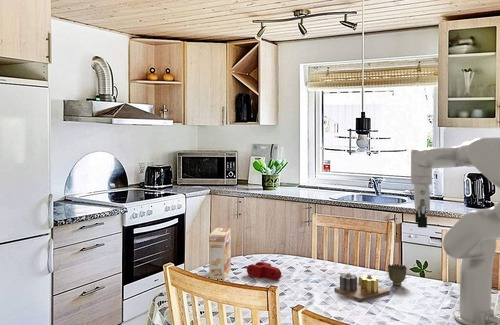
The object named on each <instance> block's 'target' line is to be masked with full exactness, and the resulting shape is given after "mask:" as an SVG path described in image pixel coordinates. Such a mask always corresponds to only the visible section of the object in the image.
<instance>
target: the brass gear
mask: <svg viewBox="0 0 500 325" xmlns="http://www.w3.org/2000/svg"><path fill="white" fill-rule="evenodd" d="M361 276H362V277H361V290H362V292H367V293H371V292H372V293H377V292H378V286H379V278H378V277H377V276H375V275H372V278H371V279H367V275H361Z"/></svg>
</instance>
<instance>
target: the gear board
mask: <svg viewBox="0 0 500 325" xmlns="http://www.w3.org/2000/svg"><path fill="white" fill-rule="evenodd" d="M362 276H363V275H360V276H359V277H358V276H357V275H356V274H353V273H352V274H351V273H350V272H346V273H342V274H340V275H339V286H337V287H334V288H333V290H334V292H335V293H338V294H341V295H343V296H345V297H348V298H350V299H353V300H355V301H357V302H360V303H361V302H365V301H367V300H371V299H375V298H378V297H382V296H383V297H384V296H386V295H390V293H391V290H389V289H387V288H384V287H381V286H379V285H378V292H377V293H372V292H371V293H367V292H362V290H361V277H362ZM366 276H367V279H371V278H372V276H373V275H372V274H367V275H366Z"/></svg>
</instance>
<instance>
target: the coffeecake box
mask: <svg viewBox="0 0 500 325" xmlns="http://www.w3.org/2000/svg"><path fill="white" fill-rule="evenodd" d="M231 230H232V229H231V228H229V227H216V228H214V230H213V231H212V232H210V233H209V235H208V258H209V260H208V264H209V265H208V268H209V269H208V276H209V277H210V278H214V279H218V280H217V281H225V280H226V279H227V277H228V275H229V274H230V272H231V271H232V270H231V269H232V261H231V260H232V257H231V256H232V249H231V248H232V238H231V235H232V234H231V233H232V231H231ZM221 279H222V280H221Z"/></svg>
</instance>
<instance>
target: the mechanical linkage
mask: <svg viewBox="0 0 500 325" xmlns="http://www.w3.org/2000/svg"><path fill="white" fill-rule="evenodd" d="M246 273H247V274H248V276H251V277H253V278H257V279H263V278H265V279H268V280H272V281H277V280H280V279H281V278H282V272H281V270H280V268H278V267H275V266H272V264H271V263H267V262H265V261H258V262H256V263H255V264H253V263H252V264H249V265H247V267H246Z"/></svg>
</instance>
